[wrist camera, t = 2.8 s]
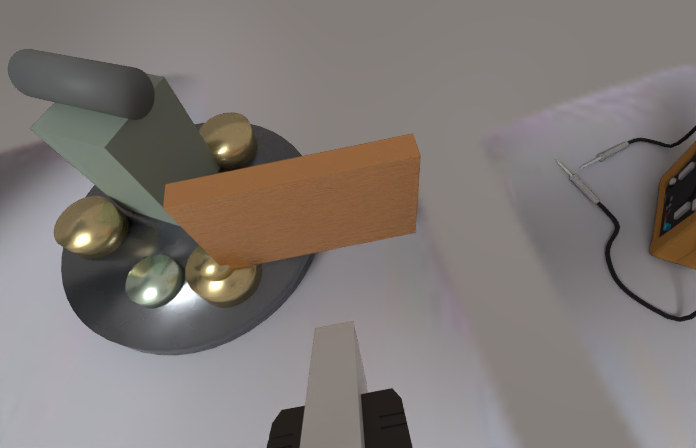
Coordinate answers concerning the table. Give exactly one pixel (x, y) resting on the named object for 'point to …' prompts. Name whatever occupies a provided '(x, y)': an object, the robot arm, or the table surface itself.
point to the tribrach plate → (166, 261)
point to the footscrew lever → (292, 212)
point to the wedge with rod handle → (114, 127)
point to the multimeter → (662, 214)
